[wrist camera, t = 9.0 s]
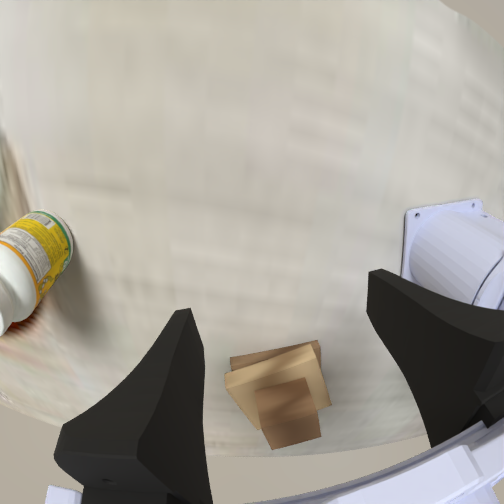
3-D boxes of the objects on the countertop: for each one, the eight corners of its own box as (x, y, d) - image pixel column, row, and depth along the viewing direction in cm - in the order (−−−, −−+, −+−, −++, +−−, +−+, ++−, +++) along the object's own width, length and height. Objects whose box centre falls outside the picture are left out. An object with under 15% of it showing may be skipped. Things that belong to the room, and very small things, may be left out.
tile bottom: (314, 334, 27) (320, 347, 26) (316, 387, 31) (320, 399, 29) (229, 352, 27) (230, 365, 25) (244, 402, 30) (245, 415, 29)
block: (304, 376, 24) (317, 412, 21) (310, 403, 26) (321, 436, 23) (254, 390, 24) (261, 428, 21) (265, 416, 26) (272, 449, 23)
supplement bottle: (55, 196, 18) (-25, 251, 10) (87, 258, 21) (30, 339, 12) (12, 224, 19) (-61, 282, 10) (41, 279, 21) (-15, 354, 12)
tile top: (310, 343, 25) (316, 357, 24) (326, 391, 29) (332, 404, 27) (224, 373, 25) (225, 388, 24) (254, 416, 29) (257, 430, 27)
